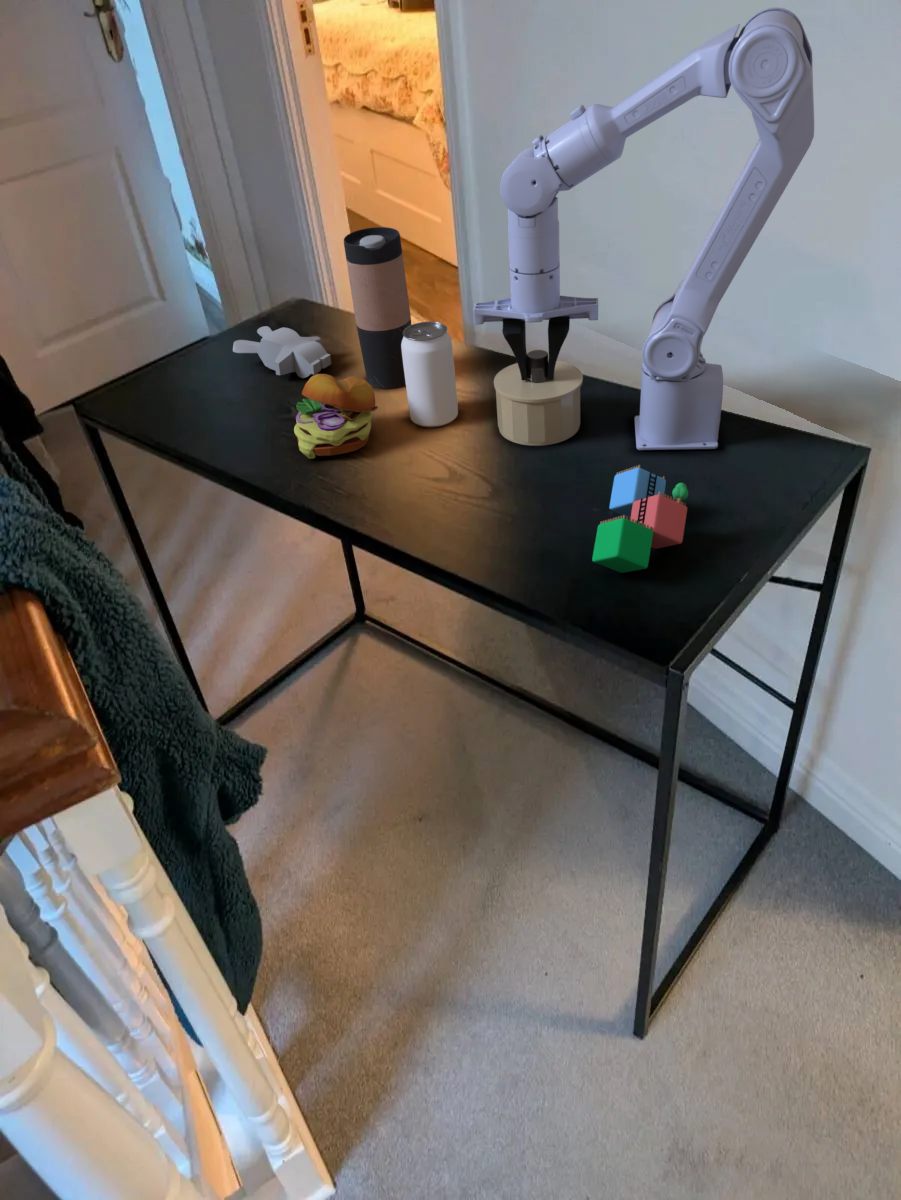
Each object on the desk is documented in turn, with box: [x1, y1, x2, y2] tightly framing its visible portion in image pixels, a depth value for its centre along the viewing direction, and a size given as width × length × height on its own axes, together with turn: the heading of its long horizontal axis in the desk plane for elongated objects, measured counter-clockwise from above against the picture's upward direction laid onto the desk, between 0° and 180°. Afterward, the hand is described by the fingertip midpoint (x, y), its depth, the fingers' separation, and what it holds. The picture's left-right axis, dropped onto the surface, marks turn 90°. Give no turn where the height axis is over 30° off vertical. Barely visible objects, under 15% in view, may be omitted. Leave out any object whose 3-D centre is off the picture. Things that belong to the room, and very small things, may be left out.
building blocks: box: [591, 464, 689, 574], centre depth 91 cm, size 8×8×12 cm
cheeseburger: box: [293, 373, 379, 459], centre depth 114 cm, size 10×11×10 cm
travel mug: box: [343, 226, 412, 390], centre depth 123 cm, size 8×8×20 cm
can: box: [401, 321, 459, 428], centre depth 115 cm, size 6×6×12 cm
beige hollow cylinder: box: [495, 387, 581, 447], centre depth 113 cm, size 10×10×6 cm
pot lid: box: [493, 349, 584, 403], centre depth 110 cm, size 11×11×4 cm
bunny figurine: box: [232, 325, 332, 379], centre depth 135 cm, size 10×5×15 cm
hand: (537, 376), depth 111 cm, fingers closed on pot lid, 2 cm apart
